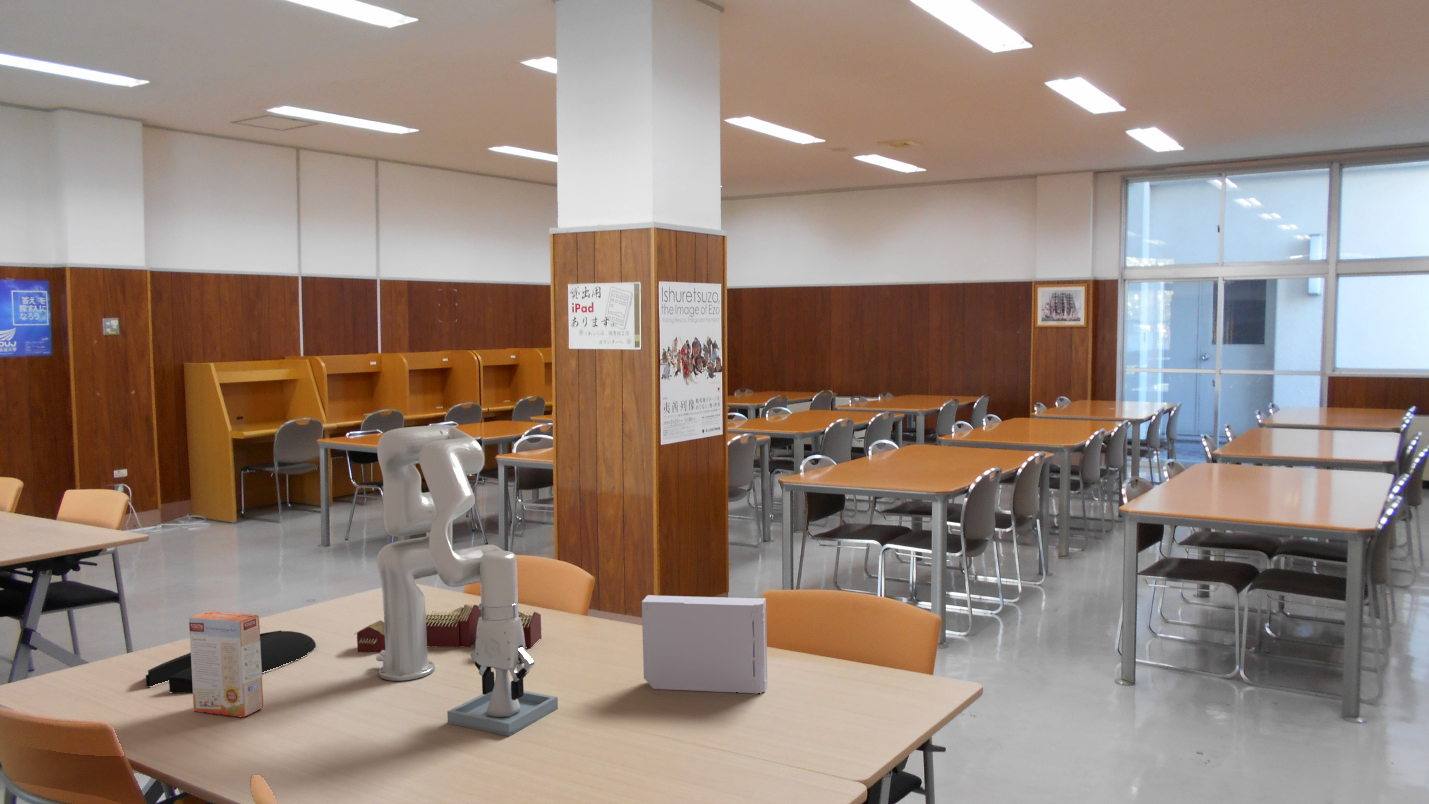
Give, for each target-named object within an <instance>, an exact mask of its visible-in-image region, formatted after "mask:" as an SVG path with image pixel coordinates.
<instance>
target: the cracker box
mask: <svg viewBox="0 0 1429 804" xmlns="http://www.w3.org/2000/svg"><path fill="white" fill-rule="evenodd" d="M188 626H189V645H190V646H189V647H190V653H191V666H192V685H193V692H192V701H193V702H192V703H193V711H194V712H195V711H199V712H198V713H204V712H208V713H207V714H212V713H215V715H220V714H223V715H222V716H228V715H233V716H232V717H236V716H241V717H240V718H246V717H247V715H248V716H250V715H252V714H254V713H253V712H255V711H257V710H259V709H261V710H263V709H264V708H263V707H264V694H263V693H264V691H263V690H264V689H263V688H264V687H263V686H264V685H263V674H262V667H261V647H260V634H261V631H260V615H259V614H250V613H238V612H224V611H215V610H213V611H211V610H209V611H204V612H202V613H199V614H195V615H192V616H190V617H188ZM262 708H263V709H262ZM259 711H260V710H259ZM257 712H258V711H257ZM251 713H252V714H251ZM255 713H256V712H255ZM249 714H250V715H249ZM245 716H246V717H245Z"/></svg>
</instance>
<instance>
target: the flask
mask: <svg viewBox="0 0 1429 804" xmlns="http://www.w3.org/2000/svg"><path fill="white" fill-rule="evenodd" d="M493 669H494V671H495V677H494V682H495V685H494V688H493V692H492V695H491V699H490V702H489V705H488V708H487V712H486V715H489V716H493V717H506V716H512V715H514V714H516V713H518V712H520V707H521V706H520V704H519V701H518V699H516V700H512V699H511V679H510V674H509V673H510V672H509V670H504V669H498V668H493Z"/></svg>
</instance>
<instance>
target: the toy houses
mask: <svg viewBox="0 0 1429 804" xmlns="http://www.w3.org/2000/svg"><path fill="white" fill-rule="evenodd" d="M518 614H519V617H520V618H521V622H522V626H523V632H524V639H525V649H532V648H533V647H534V646H535V645H536V644H537V643H538V642H539V641H540V640H542V614H540V613H539V612H537V611H533V612H532V611H519V610H518ZM481 616H482V613H481V610H480V609H479V605H478V604H464V606H463V607H461V606H460V607H459V608H457V609H454V610H452V611H434V610H433V611H426V633H427V646H431V647H432V646H437V647H436V648H461V647H464V648H466V647H467V648H470V647H472V646H473V645H475V644H476V631H477V624H478V620H479V617H481ZM353 635H356V641H357V642H356V645H357V653H370V652H379V654H380V652H381V651H382V650H385V630H384V620H381V619H380V620H377V621H375V622H374V623H371V624H369V625H367V626H366V627H363V628H362V629H360V630H358V631H357V632H355V633H353ZM539 639H540V640H539ZM538 640H539V641H538ZM537 641H538V642H537ZM536 642H537V643H536ZM535 643H536V644H535ZM534 644H535V645H534ZM471 645H472V646H471ZM533 645H534V646H533ZM532 646H533V647H532ZM526 647H527V648H526ZM531 647H532V648H531ZM432 648H433V647H432Z"/></svg>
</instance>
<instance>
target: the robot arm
mask: <svg viewBox="0 0 1429 804" xmlns="http://www.w3.org/2000/svg"><path fill="white" fill-rule="evenodd" d="M376 450H377V451H376V452H377V460H378V463H379V467H380V470H381V475H382V482H383V483H382V484H383V485H382V486H383V491H382V492H383V493H382V496H383V499H382V500H383V504H382V505H383V507H382V508H383V525H384V530H385V531H386V533H387V534H388V535H390V536H393V537H407V536H414V535H420V534H426V536H423V537H417V538H410V539H409V538H408V539H403V540H398V541H393V542H390V543H388V544H386V545H384V546H383V547H382V548H381V549H380V550H379V551H378V554H377V556H376V565H377V566H376V567H377V571H378V576H379V581H380V584H381V592H382V605H383V606H382V607H383V608H382V609H383V622H384V630H385V650H382V651H381V652H380V653H379V654H378V655H376V658H375V659H376V661H378V662H382V667H381V668H380V669H379V671H378V674H379V677H380V678H381V679H383V680H386V681H393V682H394V681H395V682H397V681H398V682H400V681H401V682H402V681H410V680H417V679H421V678H423V677H426V676H428V675H430V674H432V673H433V672H434V671H435V667H436V665H435V663H434V662H433V661H431V660H429V659H428V647H427V633H426V612H427V611H426V610H427V609H426V598H425V595H424V592H423V591H422V590H421V588H420V587H419V586H418V585H417V584H416V583H415V582H416V580H418V579H424V578H428V577H433V576H437V575H438V577H439V579H440V580H441V581H442V583H443V584H444V585H446V586H447V587H451V588H458V587H463V586H467V585H472V584H477V583H480V603H479V604H478V606H479V609H480V610H481V613H482V616H481V617H479V620H478V624H477V631H476V642H475V648H474V649H473V651H471V652H470V653H469V656H470V658H471V660H472V661H473V663H474V666H475V667H476V668H477V670H478V675H480V676H481V685H482V686H481V688H482V689H481V690H482V693H481V694H484V695H486V694H488V693H490V692H492V691H493V688H494V685H495V672H494V671H492V670H493V669H494V668H498V669H504V670H508V672H509V673H510V676H511V677H512V680H510V682H511V699H512V700H516V699H518V698H520V697H522V696H523V692H524V691H525V690H524V679H525V678H526V677H527V675H528V674H529V672H530V670H531V669H532V668H533V667H534V665H535V661H534V660H533V658H531V656H530V655H529V654H528V653H527V652H526V648H525V639H524V632H523V626H522V622H521V618H520V617H519V614H518V611H519V594H518V593H519V592H518V591H519V590H518V562H517V556H516V555H515V553H514V552H512V551H509V550H503V549H501V548H500V547H498V546H497V545H495V544H485V545H479V546H472V547H467V548H461V549H455V550H453V549H454V548H453V521H454V520H456V519H457V518H459V517H460V516H462V515H463V514H465V513H467V512H469V510H470V509H472V508H473V506H474V505H475V502H476V497H475V494H474V492H473V489H472V485H471V484H470V482H469V479H468V477H467V476H468V475H476V474H478V473H480V472H481V471H482V470H483V468H484V466H485V453H484V449H483V447H482V446H481V445H480V443H479V441H478V440H476V439H475V438H474V437H473V436H471V435H469V434H468V433H466V432H464V431H462V430H461V429H460V428H459V429H458V428H457V427H455V426H453V425H449V424H435V425H420V426H409V427H408V426H405V427H399V428H395V429H390V430H388V431H385V432H384V433H383V434H382V435H381V437H380V438H379V440H378V442H377V449H376ZM415 464H419V466H420V468H421V469H420V470H421V471H422V474H423V477H424V480H425V482H426V485H427V488H428V491H427V492H422V476H421V473H420V472H419V470H418V468H417V467H416V466H415ZM523 664H524V665H523Z"/></svg>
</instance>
